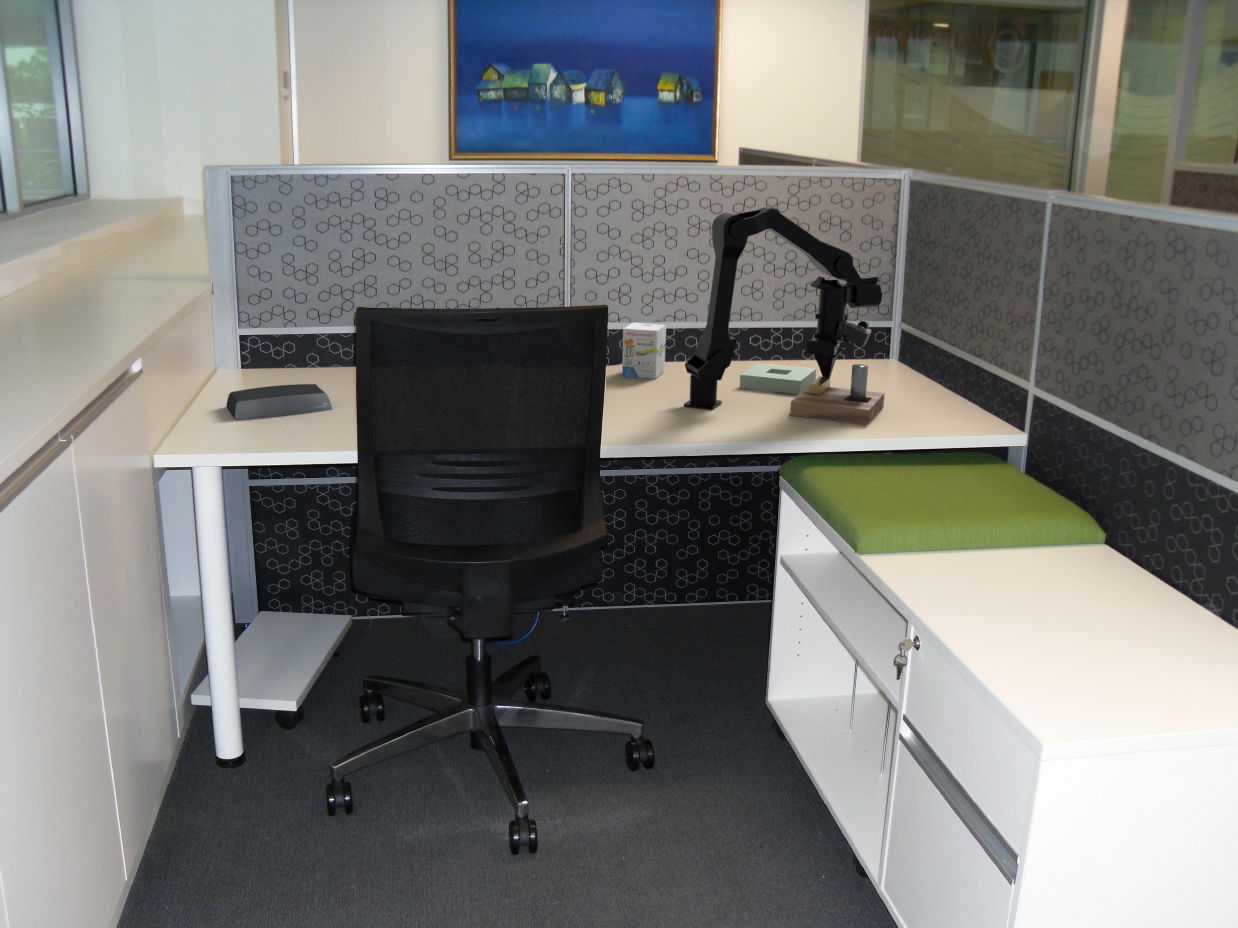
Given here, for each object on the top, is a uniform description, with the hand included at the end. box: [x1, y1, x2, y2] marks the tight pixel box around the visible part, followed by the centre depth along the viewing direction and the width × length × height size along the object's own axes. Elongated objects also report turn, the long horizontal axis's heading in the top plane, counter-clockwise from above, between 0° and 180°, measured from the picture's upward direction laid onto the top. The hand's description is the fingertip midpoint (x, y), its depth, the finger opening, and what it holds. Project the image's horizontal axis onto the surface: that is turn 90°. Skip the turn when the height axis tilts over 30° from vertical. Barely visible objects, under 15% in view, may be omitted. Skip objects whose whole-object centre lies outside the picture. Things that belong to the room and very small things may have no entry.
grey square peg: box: [850, 363, 869, 403], centre depth 219 cm, size 3×3×10 cm
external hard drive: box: [225, 383, 333, 421], centre depth 219 cm, size 13×19×4 cm
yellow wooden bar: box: [809, 376, 831, 395], centre depth 226 cm, size 8×2×2 cm, turn 156°
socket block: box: [789, 386, 886, 425], centre depth 221 cm, size 16×16×3 cm
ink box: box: [621, 322, 667, 380], centre depth 252 cm, size 9×8×12 cm
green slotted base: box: [739, 362, 817, 395], centre depth 244 cm, size 14×14×3 cm
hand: (826, 380), depth 232 cm, fingers closed
